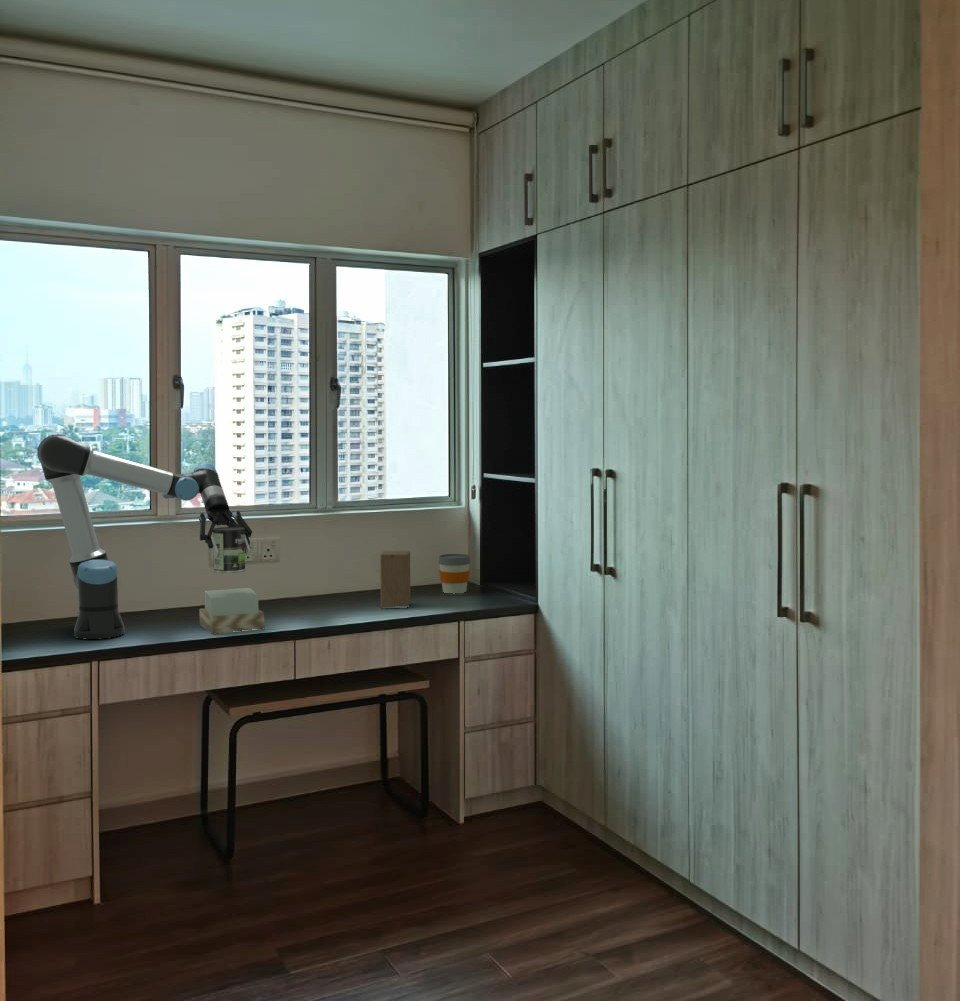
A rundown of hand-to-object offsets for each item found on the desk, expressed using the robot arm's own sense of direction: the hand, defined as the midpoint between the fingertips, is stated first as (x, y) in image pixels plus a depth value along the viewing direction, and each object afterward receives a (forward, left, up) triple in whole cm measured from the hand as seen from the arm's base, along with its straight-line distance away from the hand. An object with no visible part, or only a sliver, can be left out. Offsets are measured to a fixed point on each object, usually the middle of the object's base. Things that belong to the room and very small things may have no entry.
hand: (232, 553), depth 330 cm
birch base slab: (0, +3, -25) cm, 26 cm away
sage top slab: (0, +3, -19) cm, 20 cm away
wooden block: (+63, +11, -25) cm, 68 cm away
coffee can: (0, +3, -6) cm, 7 cm away
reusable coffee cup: (+94, +24, -25) cm, 100 cm away
